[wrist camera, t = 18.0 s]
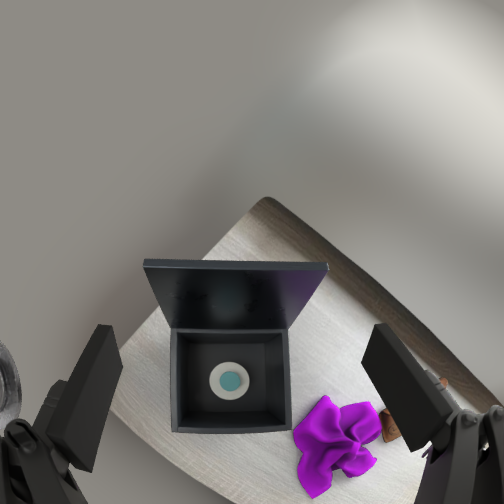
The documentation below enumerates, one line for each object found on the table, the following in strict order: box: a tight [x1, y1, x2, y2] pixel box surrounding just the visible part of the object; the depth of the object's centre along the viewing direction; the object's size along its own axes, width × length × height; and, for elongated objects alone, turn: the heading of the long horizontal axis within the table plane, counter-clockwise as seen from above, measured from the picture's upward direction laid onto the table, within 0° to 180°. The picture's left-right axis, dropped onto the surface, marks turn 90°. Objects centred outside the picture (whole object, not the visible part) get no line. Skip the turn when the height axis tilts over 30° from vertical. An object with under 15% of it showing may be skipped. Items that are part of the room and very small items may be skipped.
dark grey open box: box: [170, 328, 292, 434], centre depth 37 cm, size 14×15×15 cm
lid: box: [143, 259, 329, 330], centre depth 27 cm, size 14×15×1 cm
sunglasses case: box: [379, 377, 448, 443], centre depth 42 cm, size 18×7×7 cm
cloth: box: [293, 395, 382, 499], centre depth 37 cm, size 22×19×6 cm
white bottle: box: [210, 362, 249, 400], centre depth 38 cm, size 5×5×12 cm
